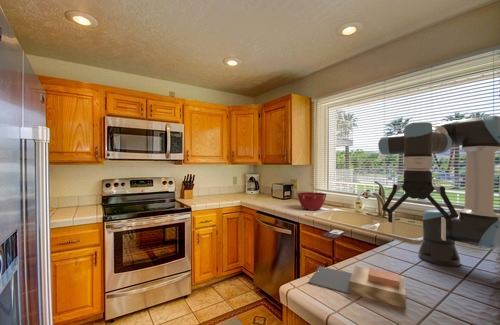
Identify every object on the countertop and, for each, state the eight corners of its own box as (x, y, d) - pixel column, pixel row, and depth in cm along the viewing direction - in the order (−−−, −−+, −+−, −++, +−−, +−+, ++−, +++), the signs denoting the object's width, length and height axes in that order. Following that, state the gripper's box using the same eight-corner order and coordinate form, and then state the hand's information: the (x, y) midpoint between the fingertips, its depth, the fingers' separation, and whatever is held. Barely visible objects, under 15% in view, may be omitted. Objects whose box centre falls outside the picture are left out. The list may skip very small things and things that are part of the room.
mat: (355, 275, 92) (355, 274, 92) (348, 294, 79) (348, 293, 79) (319, 266, 100) (319, 266, 100) (308, 283, 86) (308, 281, 86)
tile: (398, 280, 80) (398, 274, 80) (399, 287, 75) (399, 281, 75) (369, 273, 85) (369, 268, 85) (368, 280, 80) (368, 274, 80)
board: (403, 287, 83) (403, 276, 83) (405, 308, 71) (405, 295, 71) (354, 276, 91) (354, 266, 91) (349, 292, 79) (349, 281, 79)
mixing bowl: (291, 209, 230) (291, 193, 230) (305, 205, 252) (305, 191, 252) (319, 213, 212) (319, 196, 212) (330, 208, 233) (330, 193, 233)
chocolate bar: (321, 235, 144) (332, 229, 157) (320, 236, 144) (332, 230, 157) (335, 238, 138) (346, 231, 151) (335, 239, 138) (346, 233, 151)
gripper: (373, 169, 79) (373, 232, 79) (471, 171, 66) (471, 246, 66) (375, 169, 86) (375, 227, 85) (465, 170, 73) (465, 239, 72)
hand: (417, 235), depth 76 cm, fingers open, 12 cm apart
